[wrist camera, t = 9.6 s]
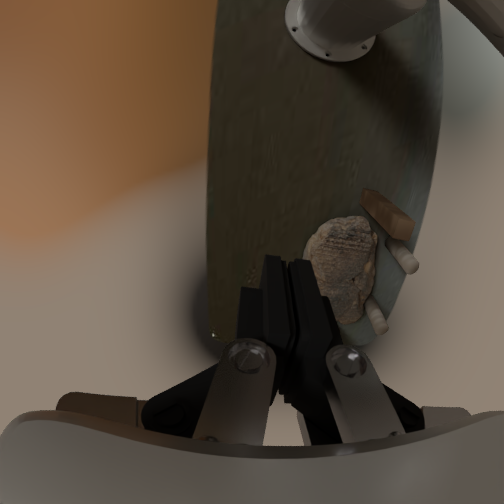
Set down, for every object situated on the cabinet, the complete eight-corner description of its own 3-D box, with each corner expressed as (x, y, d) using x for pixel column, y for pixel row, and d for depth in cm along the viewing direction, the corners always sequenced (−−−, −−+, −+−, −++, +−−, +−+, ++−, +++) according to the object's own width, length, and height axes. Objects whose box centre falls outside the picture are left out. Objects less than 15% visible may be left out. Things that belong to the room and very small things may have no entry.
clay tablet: (310, 200, 39) (283, 309, 48) (318, 212, 35) (286, 328, 44) (391, 216, 40) (354, 314, 49) (405, 229, 36) (361, 332, 45)
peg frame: (363, 188, 37) (399, 218, 27) (410, 199, 38) (453, 231, 27) (318, 328, 50) (328, 378, 40) (359, 330, 51) (375, 377, 40)
